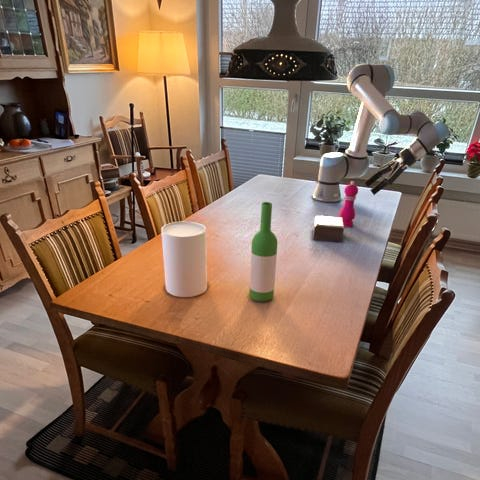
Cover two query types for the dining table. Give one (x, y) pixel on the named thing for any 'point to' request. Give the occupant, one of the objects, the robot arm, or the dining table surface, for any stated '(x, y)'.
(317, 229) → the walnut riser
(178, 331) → the dining table surface
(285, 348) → the dining table surface
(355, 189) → the pepper mill
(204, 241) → the canister
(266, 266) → the wine bottle
